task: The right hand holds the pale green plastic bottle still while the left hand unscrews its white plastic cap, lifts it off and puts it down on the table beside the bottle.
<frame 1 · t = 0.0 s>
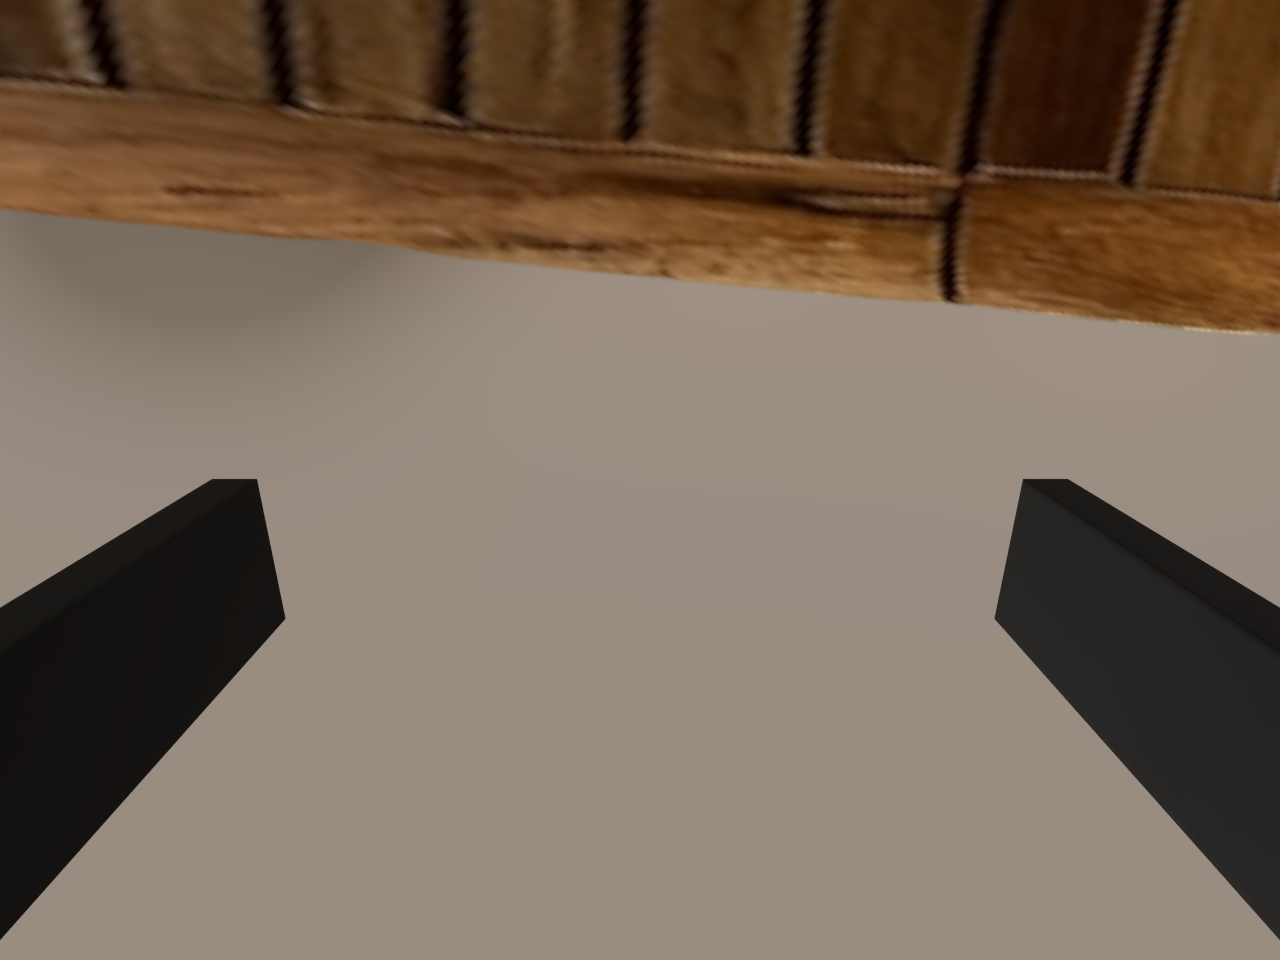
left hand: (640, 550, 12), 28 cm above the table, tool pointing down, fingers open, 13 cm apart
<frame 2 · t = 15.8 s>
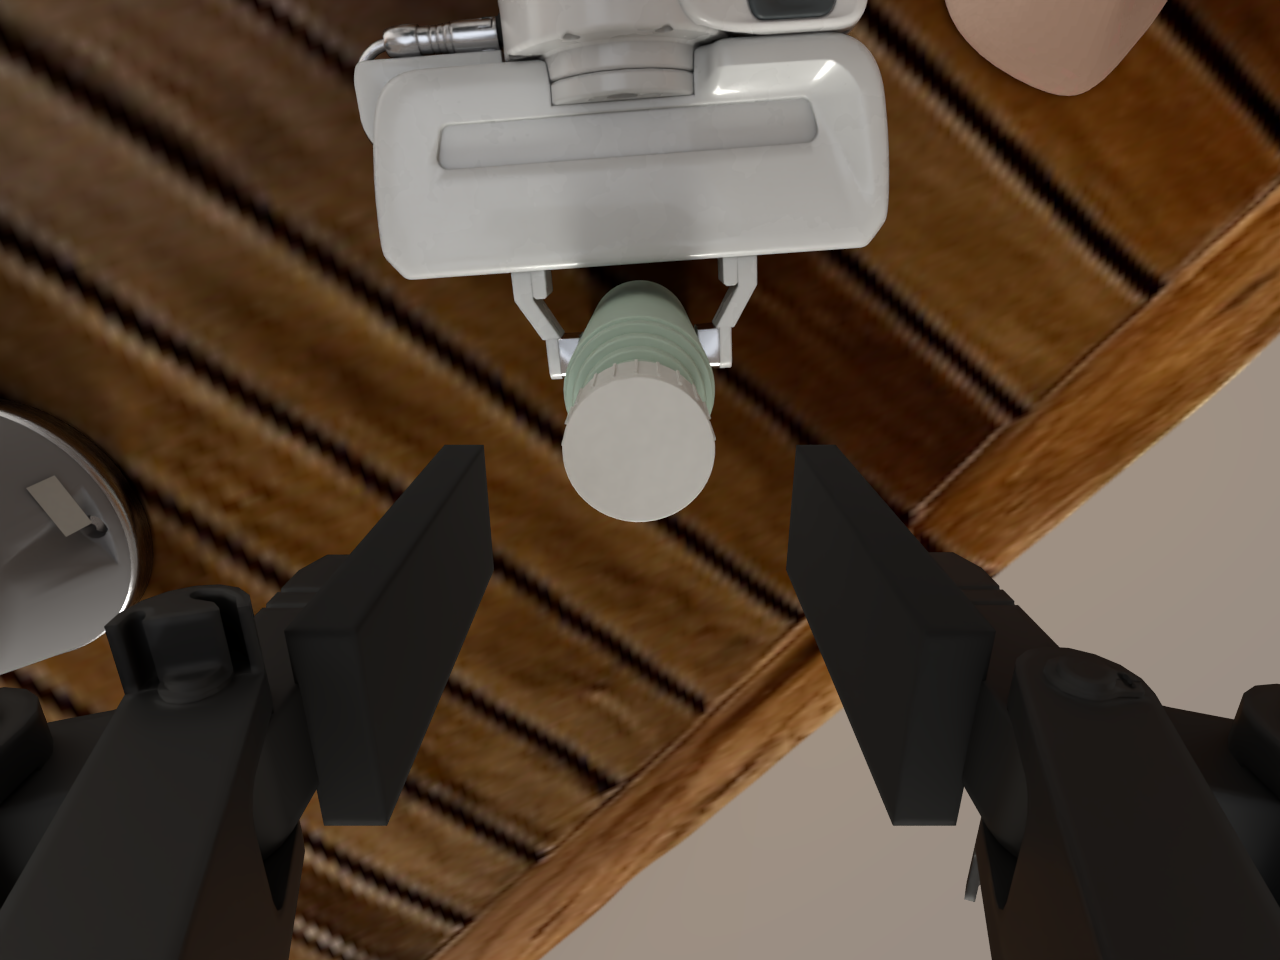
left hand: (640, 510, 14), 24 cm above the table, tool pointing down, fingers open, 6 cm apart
right hand: (642, 371, 31), fingers closed on bottle, 5 cm apart
cap: (638, 448, 18), point 20 cm above the table, screwed on, not yet turned
bottle: (639, 330, 36), on the table, touching right hand
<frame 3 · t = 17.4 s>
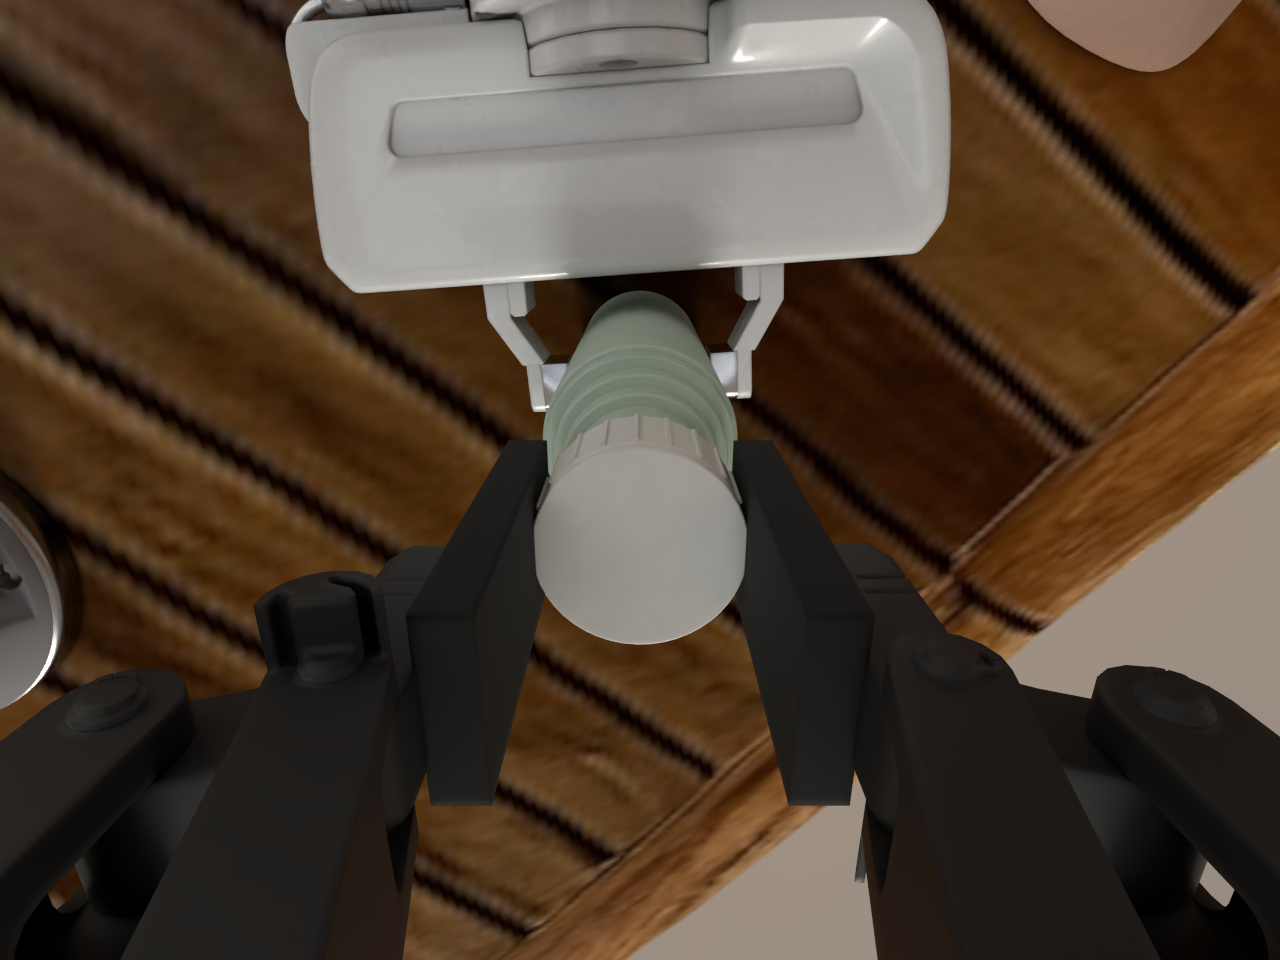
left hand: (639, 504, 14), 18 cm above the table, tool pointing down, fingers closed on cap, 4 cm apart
right hand: (643, 401, 26), fingers closed on bottle, 5 cm apart
cap: (640, 544, 12), point 20 cm above the table, screwed on, not yet turned, touching left hand
bottle: (640, 349, 31), on the table, touching right hand
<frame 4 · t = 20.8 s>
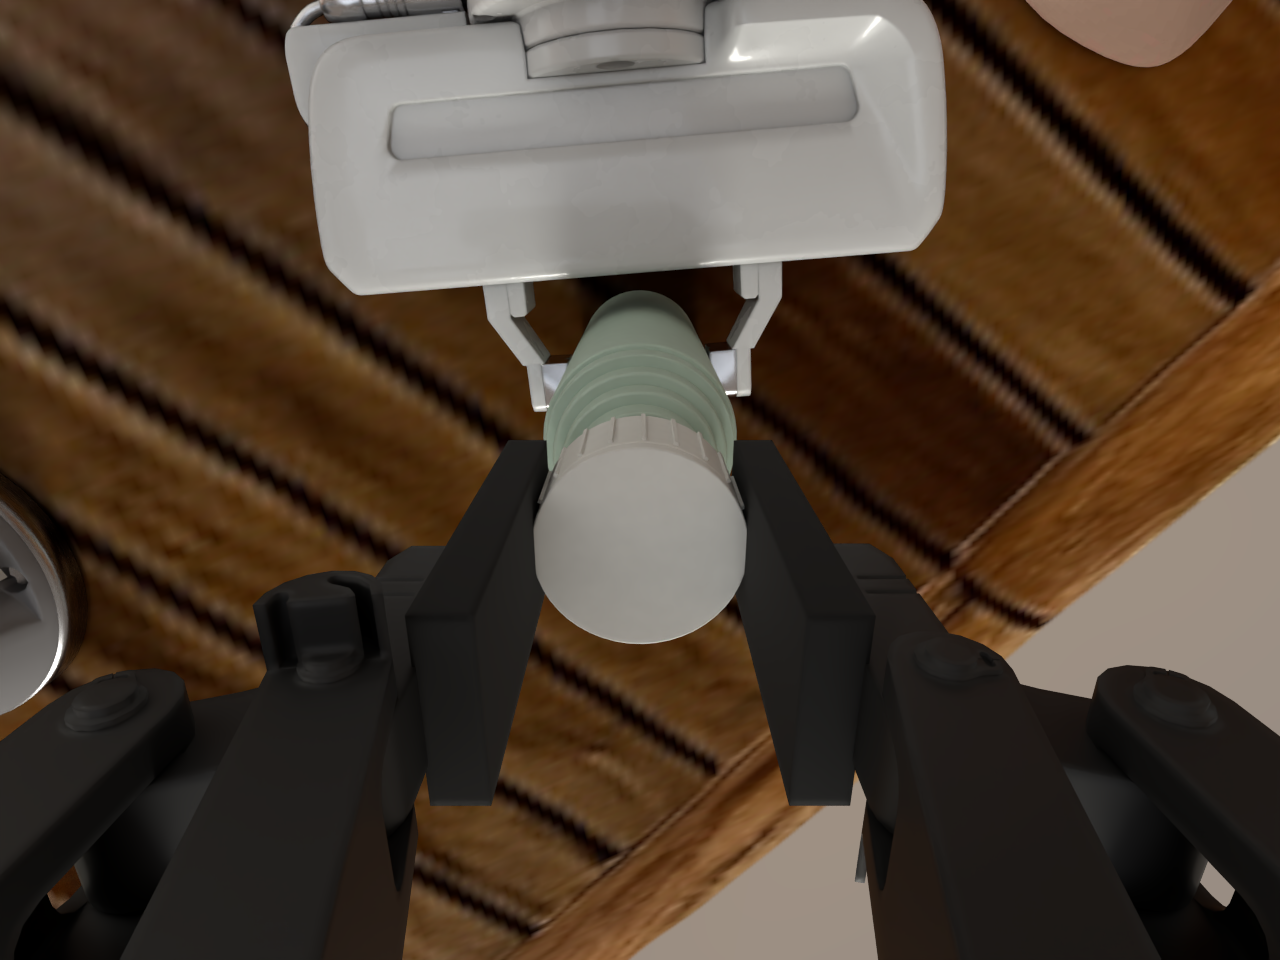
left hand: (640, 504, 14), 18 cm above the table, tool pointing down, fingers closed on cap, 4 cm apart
right hand: (643, 400, 26), fingers closed on bottle, 5 cm apart
cap: (640, 543, 12), point 20 cm above the table, turned 116° so far, risen 0.1 cm, still on its thread, touching left hand
bottle: (640, 348, 31), on the table, touching right hand
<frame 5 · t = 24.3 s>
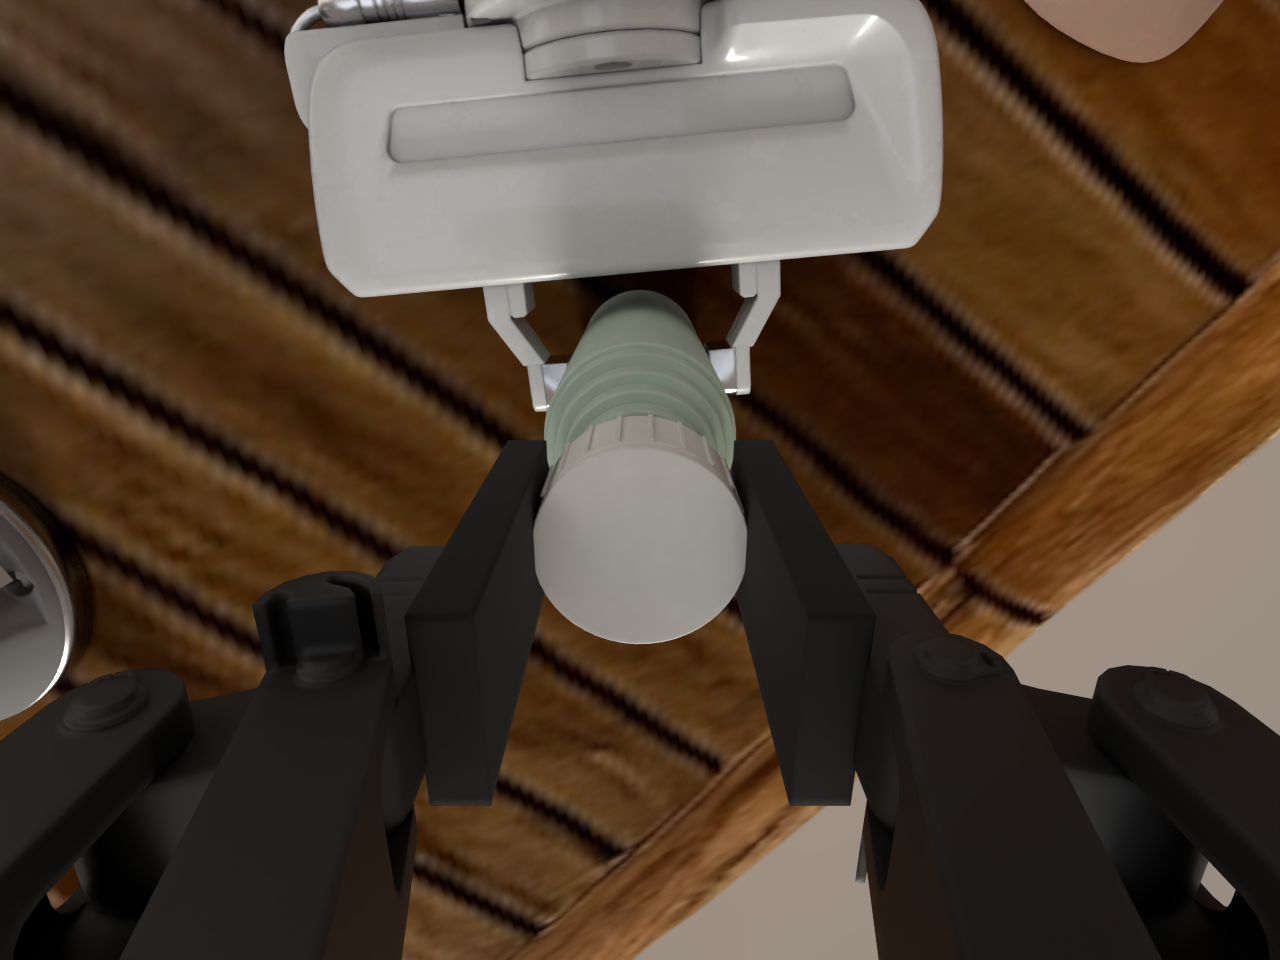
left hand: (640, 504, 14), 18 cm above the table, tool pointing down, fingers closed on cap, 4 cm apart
right hand: (643, 399, 26), fingers closed on bottle, 5 cm apart
cap: (640, 544, 12), point 20 cm above the table, turned 231° so far, risen 0.3 cm, still on its thread, touching left hand
bottle: (640, 347, 31), on the table, touching right hand
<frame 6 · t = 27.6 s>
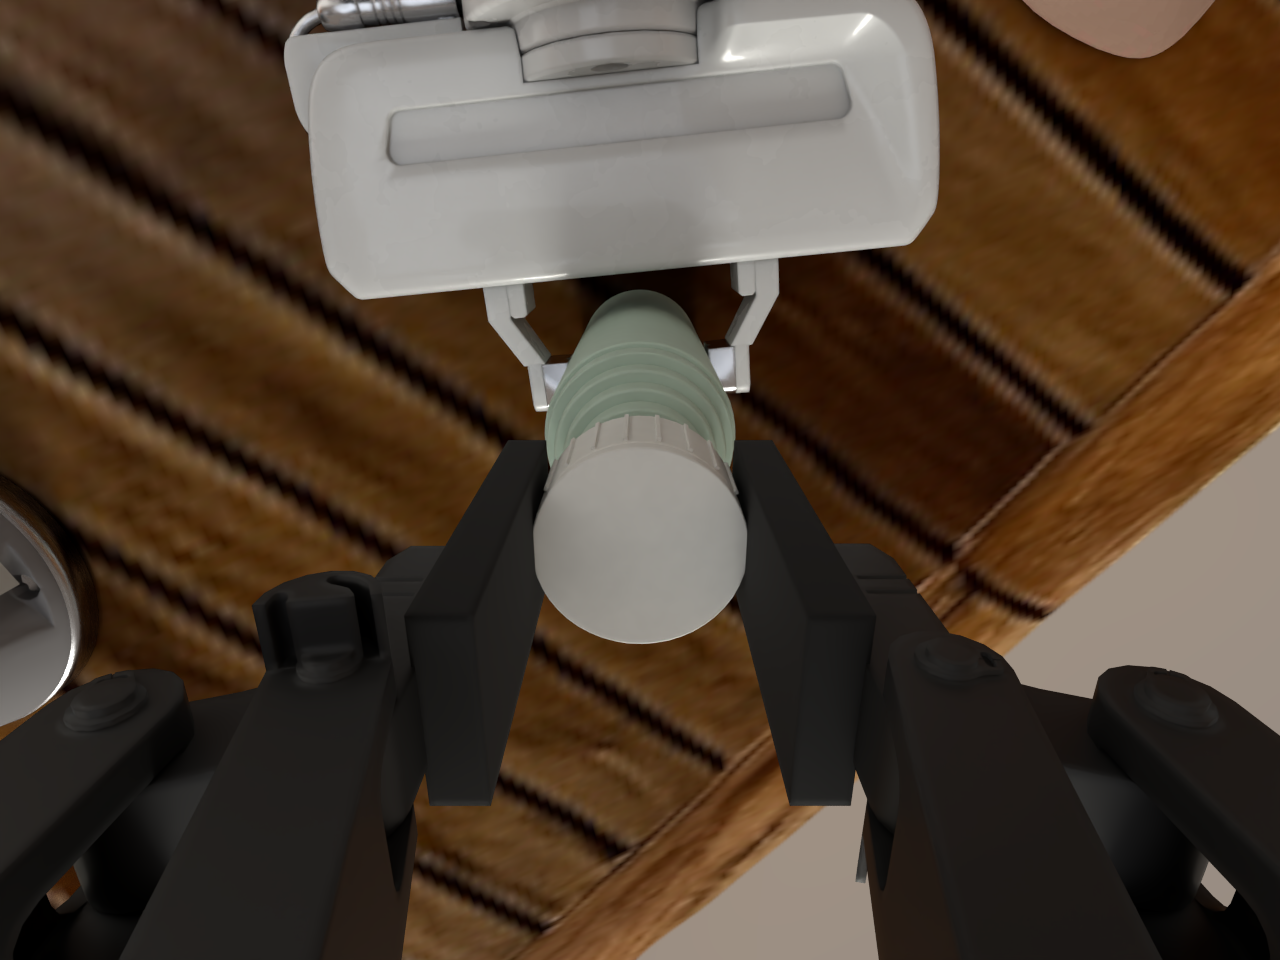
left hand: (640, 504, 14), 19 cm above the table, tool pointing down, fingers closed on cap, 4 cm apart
right hand: (643, 398, 26), fingers closed on bottle, 5 cm apart
cap: (640, 543, 12), point 20 cm above the table, turned 347° so far, risen 0.4 cm, still on its thread, touching left hand
bottle: (640, 347, 32), on the table, touching right hand
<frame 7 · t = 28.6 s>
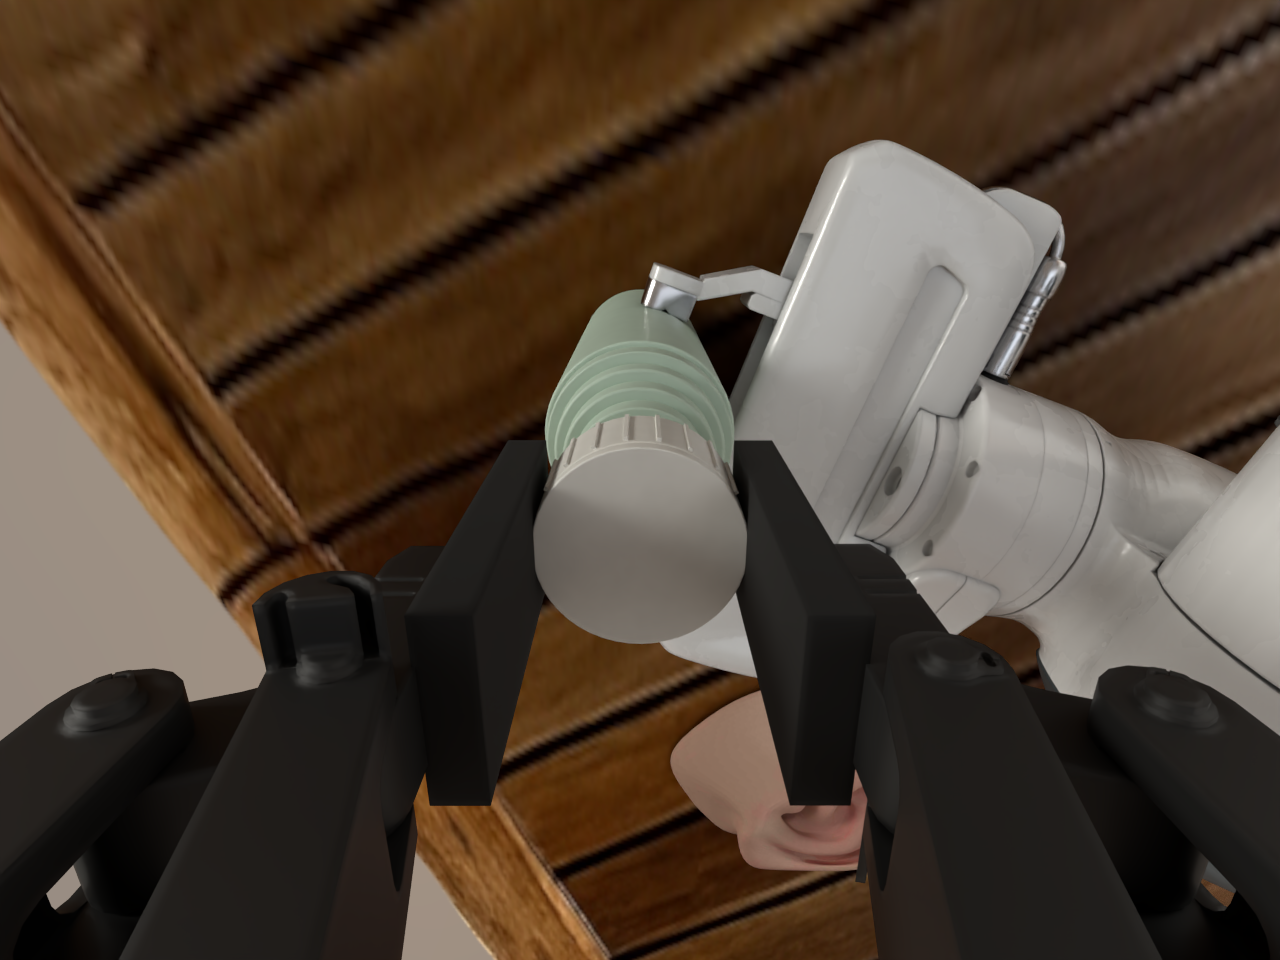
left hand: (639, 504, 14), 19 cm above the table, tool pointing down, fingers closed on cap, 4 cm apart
right hand: (616, 367, 26), fingers closed on bottle, 5 cm apart
anatomical model: (792, 765, 40), on the table
cap: (640, 543, 12), point 21 cm above the table, off its thread, touching left hand
bottle: (639, 347, 32), on the table, touching right hand
when the left hand's fingers open (2 cm above the table, at t = 34.4 s): cap drops 2 cm, point 2 cm above the table.
when the right hand's fingers open (6 cm above the table, at t = 35.7 s): bottle stays where it is, on the table.
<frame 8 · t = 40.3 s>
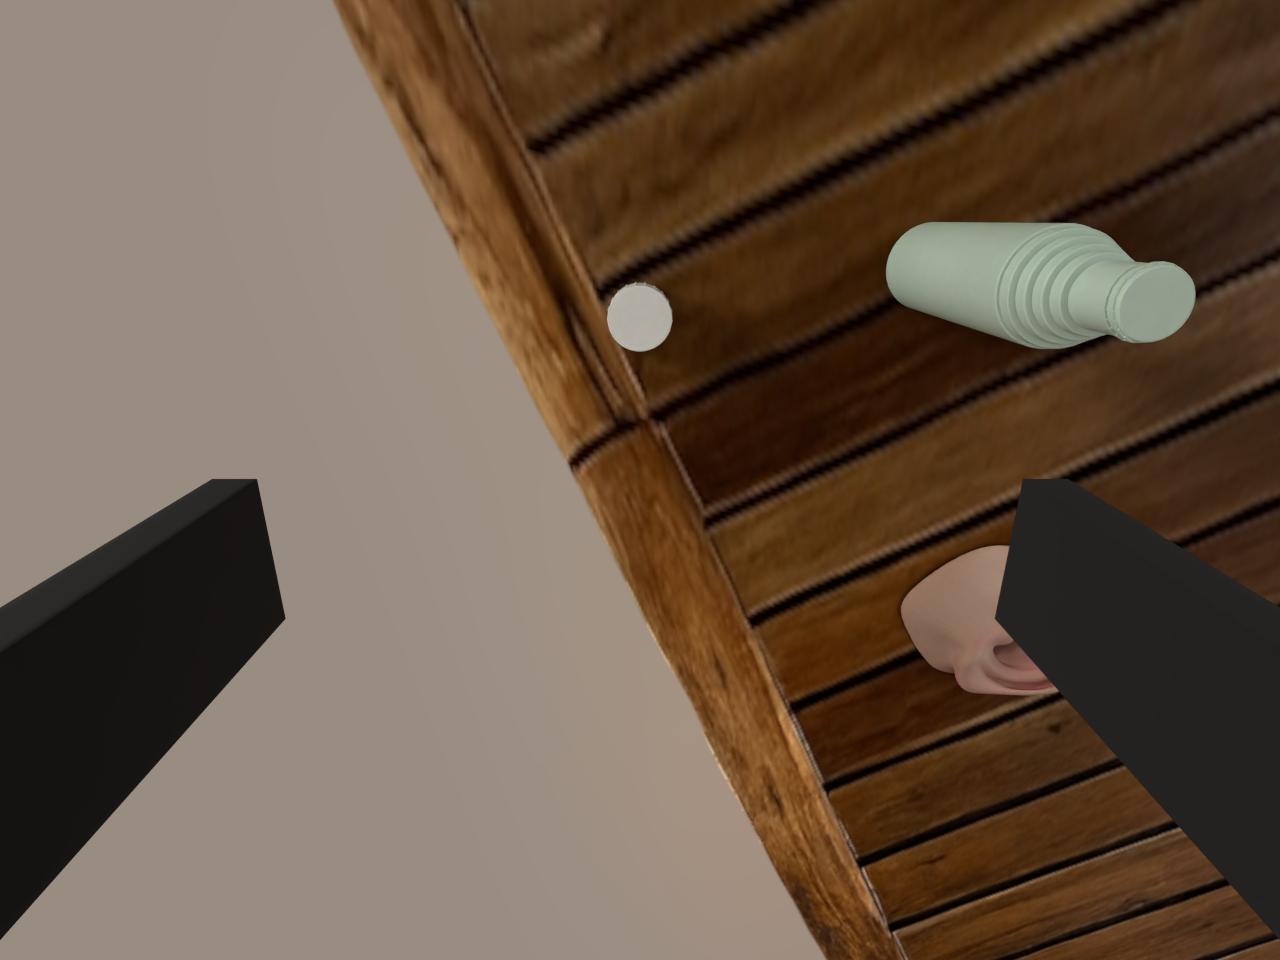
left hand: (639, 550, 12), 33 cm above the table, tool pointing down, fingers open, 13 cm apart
anatomical model: (995, 614, 51), on the table
cap: (639, 318, 41), point 2 cm above the table, off its thread
bottle: (928, 266, 42), on the table
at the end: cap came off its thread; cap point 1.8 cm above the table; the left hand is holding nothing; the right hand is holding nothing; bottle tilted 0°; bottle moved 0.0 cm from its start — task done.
